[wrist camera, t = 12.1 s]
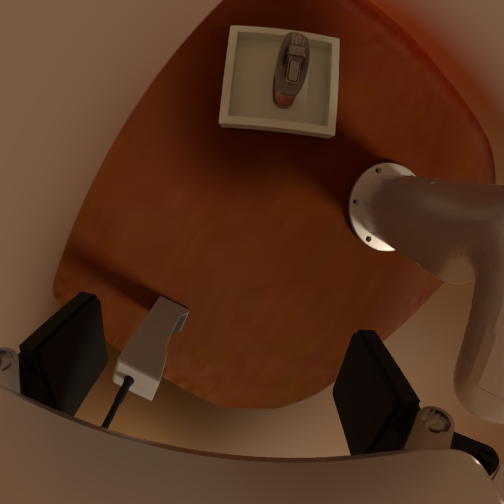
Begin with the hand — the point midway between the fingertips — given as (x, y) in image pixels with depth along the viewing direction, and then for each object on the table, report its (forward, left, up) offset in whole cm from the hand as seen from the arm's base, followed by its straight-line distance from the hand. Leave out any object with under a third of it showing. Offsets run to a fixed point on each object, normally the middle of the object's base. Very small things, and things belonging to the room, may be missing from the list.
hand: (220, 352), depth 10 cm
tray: (-3, -19, -30) cm, 35 cm away
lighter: (-4, -19, -29) cm, 35 cm away
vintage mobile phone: (+10, +15, -30) cm, 35 cm away
